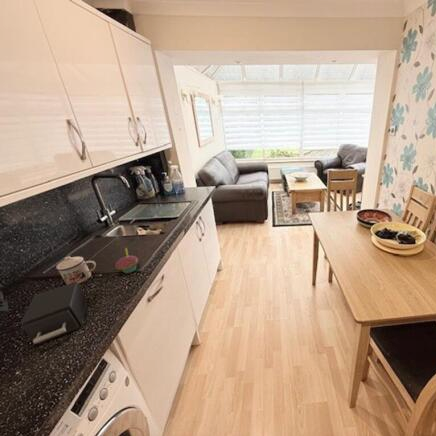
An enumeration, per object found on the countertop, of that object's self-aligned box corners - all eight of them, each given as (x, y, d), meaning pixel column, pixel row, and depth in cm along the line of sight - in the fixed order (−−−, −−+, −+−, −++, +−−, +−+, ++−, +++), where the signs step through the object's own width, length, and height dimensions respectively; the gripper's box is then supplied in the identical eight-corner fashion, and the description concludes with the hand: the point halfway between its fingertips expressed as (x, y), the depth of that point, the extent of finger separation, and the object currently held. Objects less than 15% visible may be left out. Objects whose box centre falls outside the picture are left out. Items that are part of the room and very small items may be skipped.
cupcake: (140, 262, 112) (131, 241, 107) (141, 271, 106) (132, 249, 101) (119, 269, 108) (108, 247, 103) (119, 279, 102) (107, 256, 97)
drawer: (77, 336, 75) (65, 319, 72) (33, 355, 70) (18, 337, 67) (84, 303, 89) (74, 287, 85) (47, 316, 84) (36, 300, 81)
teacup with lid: (63, 289, 98) (49, 266, 93) (68, 278, 105) (55, 256, 100) (99, 278, 104) (87, 256, 99) (101, 268, 111) (90, 246, 106)
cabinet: (83, 326, 80) (69, 305, 76) (36, 345, 74) (19, 323, 70) (88, 300, 91) (76, 281, 87) (48, 315, 86) (34, 295, 82)
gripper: (-173, 340, 33) (-35, 336, 54) (-36, 299, 40) (42, 309, 60) (-171, 290, 35) (-38, 304, 55) (-40, 258, 41) (37, 282, 61)
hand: (3, 307), depth 57 cm, fingers closed
